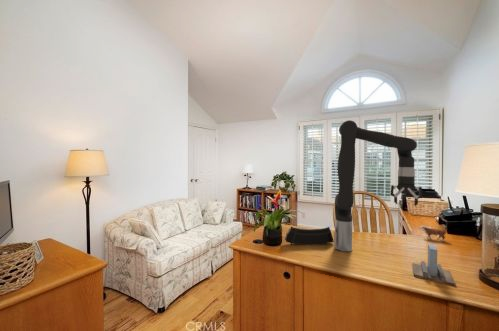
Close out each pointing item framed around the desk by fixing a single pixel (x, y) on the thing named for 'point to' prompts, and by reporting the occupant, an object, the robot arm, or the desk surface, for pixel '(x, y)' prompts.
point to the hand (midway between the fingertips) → (405, 204)
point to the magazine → (309, 236)
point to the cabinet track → (442, 276)
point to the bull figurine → (433, 232)
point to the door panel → (432, 259)
